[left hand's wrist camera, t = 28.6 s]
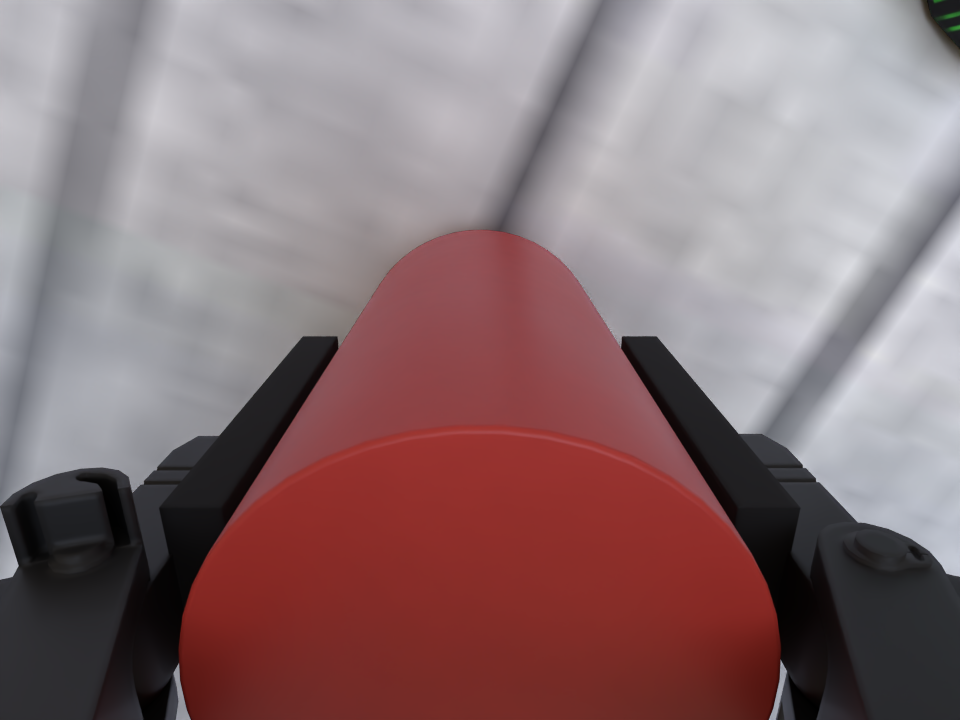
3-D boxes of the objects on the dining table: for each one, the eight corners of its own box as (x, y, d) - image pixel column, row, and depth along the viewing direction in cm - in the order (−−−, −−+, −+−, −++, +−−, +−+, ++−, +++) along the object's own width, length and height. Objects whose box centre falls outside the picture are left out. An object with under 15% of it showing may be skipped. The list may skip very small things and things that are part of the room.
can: (381, 207, 15) (183, 369, 5) (622, 255, 16) (885, 492, 6) (351, 427, 18) (168, 852, 7) (564, 464, 18) (677, 915, 8)
